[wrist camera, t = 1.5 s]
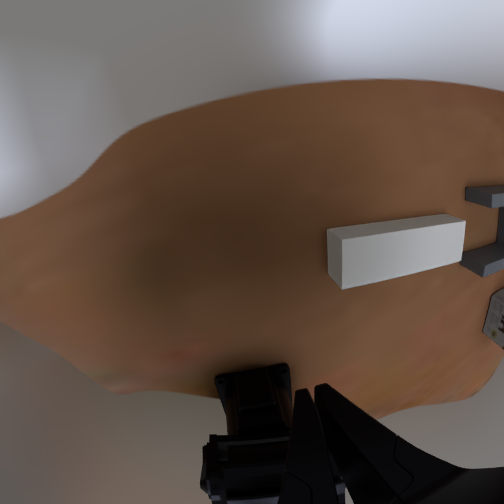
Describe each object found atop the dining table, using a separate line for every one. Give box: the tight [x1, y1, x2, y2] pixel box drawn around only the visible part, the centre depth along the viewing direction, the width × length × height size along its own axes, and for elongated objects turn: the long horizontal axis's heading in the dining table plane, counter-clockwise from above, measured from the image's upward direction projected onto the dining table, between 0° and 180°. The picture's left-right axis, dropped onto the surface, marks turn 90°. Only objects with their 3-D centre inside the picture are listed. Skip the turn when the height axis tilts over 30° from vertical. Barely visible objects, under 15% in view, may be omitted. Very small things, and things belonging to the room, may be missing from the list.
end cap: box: [460, 185, 504, 277], centre depth 20 cm, size 8×8×4 cm
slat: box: [327, 214, 466, 289], centre depth 19 cm, size 4×12×3 cm, turn 97°
